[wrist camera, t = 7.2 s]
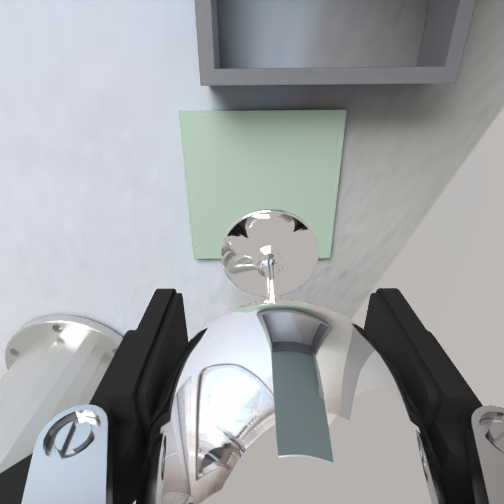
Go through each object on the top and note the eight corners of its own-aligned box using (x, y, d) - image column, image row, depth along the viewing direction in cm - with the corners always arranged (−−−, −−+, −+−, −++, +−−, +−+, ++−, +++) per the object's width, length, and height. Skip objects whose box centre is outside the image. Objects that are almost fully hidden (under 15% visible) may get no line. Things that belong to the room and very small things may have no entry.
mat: (328, 255, 27) (329, 258, 26) (194, 256, 27) (193, 258, 27) (345, 109, 22) (346, 109, 21) (180, 111, 22) (179, 111, 22)
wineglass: (187, 279, 16) (37, 709, 5) (238, 170, 13) (164, 545, 2) (293, 322, 17) (360, 749, 6) (358, 229, 14) (662, 661, 4)
